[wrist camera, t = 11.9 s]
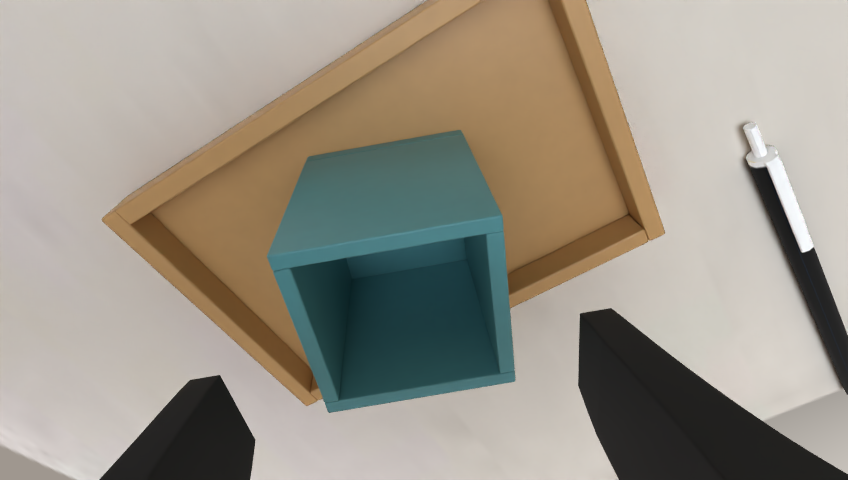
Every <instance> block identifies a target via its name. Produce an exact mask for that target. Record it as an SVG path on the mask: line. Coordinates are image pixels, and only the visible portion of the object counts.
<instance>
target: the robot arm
mask: <svg viewBox="0 0 848 480" xmlns="http://www.w3.org/2000/svg"><path fill="white" fill-rule="evenodd" d="M578 386H579V389H580V392H581V394H582V397H583V400H584V403H585V405H586V408H587V411H588V414H589V416H590V419H591V421H592V424H593V427H594V429H595V432H596V434H597V436H598V438H599V441H600V443H601V445H602V447H603V449H604V451H605V453H606V455H607V457H608V459H609V461H610V463H611V465H612V467H613V469H614V471H615V473H616V475H617V477H618V478H619V480H848V474H846V473H844V472H843V471H841V470H839V469H838V468H836V467H834V466H833V465H831V464H829V463H827V462H826V461H824V460H823V459H821V458H819V457H818V456H816V455H814V454H813V453H811V452H809V451H808V450H806V449H804V448H803V447H801V446H800V445H798V444H797V443H795V442H793V441H791V440H790V439H789V438H787V437H785V436H784V435H782V434H780V433H779V432H778V431H776V430H775V429H773V428H772V427H770V426H769V425H767V424H766V423H764V422H763V421H761V420H760V419H758V418H757V417H756V416H754V415H753V414H751V413H750V412H748V411H747V410H745V409H744V408H742V407H741V406H739V405H738V404H737V403H735V402H734V401H732V400H731V399H729V398H728V397H727V396H725V395H724V394H722V393H721V392H720V391H718V390H717V389H716V388H714V387H713V386H711V385H710V384H709V383H707V382H706V381H705V380H703V379H702V378H701V377H699V376H698V375H696V374H695V373H694V372H692V371H691V370H690V369H688V368H687V367H686V366H684V365H683V364H682V363H680V362H679V361H678V360H676V359H675V358H674V357H673V356H671V355H670V354H669V353H667V352H666V351H665V350H664V349H662V348H661V347H660V346H658V345H657V344H656V343H655V342H653V341H652V340H651V339H649V338H648V337H647V336H646V335H644V334H643V333H642V332H641V331H639V330H638V329H637V328H636V327H634V326H633V325H632V324H631V323H629V322H628V321H627V320H626V319H624V318H623V317H622V316H620V315H619V314H618V313H617V312H615V311H614V310H613V309H611V308H610V309H604V310H598V311H592V312H586V313H580V335H579V379H578ZM254 447H255V439H254V437H253V435H252V433H251V431H250V429H249V428H248V426H247V424H246V422H245V420H244V418H243V417H242V415H241V413H240V411H239V409H238V407H237V406H236V404H235V402H234V400H233V398H232V396H231V395H230V393H229V391H228V389H227V387H226V385H225V384H224V382H223V380H222V378H221V376H220V375H217V376H212V377H206V378H200V379H194V380H190V381H189V382H188V383H187V384H186V385H185V386H184V387H183V388H182V389H181V390H180V391H179V392H178V393H177V394H176V395H175V396H174V397H173V399H172V400H171V401H170V402H169V403H168V404H167V405H166V406H165V407H164V409H163V410H162V411H161V412H160V413H159V414H158V415H157V416H156V417H155V419H154V420H153V421H152V422H151V423H150V424H149V425H148V426H147V428H146V429H145V430H144V431H143V432H142V433H141V434H140V435H139V437H138V438H137V439H136V440H135V441H134V442H133V443H132V444H131V445H130V447H129V448H128V449H127V450H126V451H125V452H124V453H123V454H122V455H121V457H120V458H119V459H118V460H117V461H116V462H115V463H114V464H113V465H112V466H111V468H110V469H109V470H108V471H107V472H106V473H105V474H104V475H103V476H102V478H101V479H100V480H250V476H251V470H252V462H253V455H254Z"/></svg>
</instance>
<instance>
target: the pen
mask: <svg viewBox="0 0 848 480" xmlns="http://www.w3.org/2000/svg"><path fill="white" fill-rule="evenodd" d="M743 129H744V132H745V134H746V137H747V139H748V142H749V144H750V147H751V149H752V151H750V152H749V153H748V154H747V156H746V160H747V162H748V164H749V167H750V169H751V172H752V174H753V176H754V179H755V181H756V183H757V186H758V188H759V190H760V193H761V195H762V197H763V200H764V202H765V204H766V207H767V209H768V211H769V214H770V216H771V218H772V221H773V223H774V226H775V228H776V230H777V233H778V235H779V237H780V240H781V242H782V244H783V247H784V249H785V251H786V254H787V256H788V258H789V261H790V263H791V265H792V268H793V270H794V272H795V275H796V277H797V280H798V282H799V284H800V287H801V289H802V291H803V294H804V296H805V298H806V301H807V303H808V305H809V308H810V310H811V312H812V315H813V317H814V319H815V322H816V324H817V326H818V329H819V331H820V334H821V336H822V338H823V341H824V343H825V345H826V348H827V350H828V352H829V355H830V357H831V359H832V362H833V364H834V366H835V369H836V371H837V373H838V376H839V378H840V380H841V383H842V385H843V388H844V390H845V392H846V393H847V394H848V335H847V333H846V330H845V327H844V325H843V322H842V319H841V317H840V314H839V312H838V309H837V306H836V304H835V301H834V299H833V296H832V293H831V291H830V288H829V285H828V283H827V280H826V278H825V275H824V272H823V270H822V267H821V264H820V262H819V259H818V257H817V254H816V251H815V249H814V244H813V241H812V238H811V236H810V233H809V231H808V228H807V225H806V223H805V220H804V218H803V215H802V212H801V210H800V207H799V205H798V202H797V199H796V197H795V194H794V192H793V189H792V186H791V184H790V181H789V179H788V176H787V173H786V171H785V168H784V165H783V163H782V160H781V159H780V157H779V154H778V152H777V149H776V148H775V147H774V146H770V145H765V144H764V141H763V139H762V136H761V134H760V131H759V129H758V127H757V124H756V123H755V122H750V123H748V124H746V125H745V126H744V127H743Z"/></svg>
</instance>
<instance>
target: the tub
mask: <svg viewBox="0 0 848 480" xmlns="http://www.w3.org/2000/svg"><path fill="white" fill-rule="evenodd" d="M503 229H504V225H503V216H502V213H501V211H500V209H499V207H498V205H497V203H496V201H495V199H494V197H493V195H492V193H491V191H490V189H489V186H488V184H487V182H486V180H485V178H484V176H483V174H482V172H481V170H480V168H479V166H478V164H477V162H476V159H475V157H474V155H473V153H472V151H471V149H470V147H469V145H468V143H467V141H466V139H465V137H464V135H463V133H462V131H461V130H455V131H450V132H444V133H438V134H433V135H427V136H421V137H416V138H410V139H404V140H399V141H393V142H387V143H382V144H376V145H370V146H365V147H359V148H353V149H348V150H342V151H336V152H331V153H325V154H319V155H314V156H309V157H307V160H306V162H305V164H304V167H303V169H302V171H301V174H300V176H299V179H298V181H297V184H296V186H295V188H294V191H293V193H292V196H291V198H290V201H289V203H288V206H287V208H286V210H285V213H284V215H283V218H282V220H281V223H280V225H279V227H278V230H277V232H276V235H275V237H274V240H273V242H272V244H271V247H270V249H269V252H268V254H267V259H268V261H269V264H270V266H271V269H272V270H273V274H274V276H275V279H276V282H277V284H278V287H279V289H280V292H281V294H282V297H283V299H284V302H285V304H286V307H287V309H288V312H289V314H290V317H291V319H292V322H293V324H294V327H295V329H296V332H297V334H298V337H299V339H300V342H301V345H302V347H303V350H304V352H305V355H306V357H307V360H308V362H309V365H310V367H311V370H312V372H313V375H314V377H315V380H316V382H317V385H318V387H319V390H320V392H321V395H322V397H323V400H324V402H325V405H326V408H327V410H328V412H329V413H331V412H337V411H343V410H349V409H355V408H361V407H367V406H373V405H379V404H385V403H391V402H396V401H402V400H408V399H414V398H420V397H426V396H432V395H438V394H444V393H450V392H456V391H462V390H468V389H474V388H480V387H486V386H492V385H498V384H504V383H509V382H514V381H515V371H514V369H515V368H514V355H513V342H512V329H511V316H510V303H509V290H508V277H507V264H506V251H505V238H504V231H503Z"/></svg>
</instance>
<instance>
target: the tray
mask: <svg viewBox="0 0 848 480" xmlns="http://www.w3.org/2000/svg"><path fill="white" fill-rule="evenodd" d="M455 130H461V131H462V133H463V135H464V137H465V139H466V141H467V143H468V145H469V147H470V149H471V151H472V153H473V155H474V157H475V159H476V162H477V164H478V166H479V168H480V170H481V172H482V174H483V176H484V178H485V180H486V182H487V184H488V186H489V189H490V191H491V193H492V195H493V197H494V199H495V201H496V203H497V205H498V207H499V209H500V211H501V213H502V216H503V225H504V229H503V231H504V238H505V251H506V264H507V277H508V290H509V303H510V308H512V307H514V306H516V305H518V304H520V303H522V302H524V301H526V300H528V299H530V298H533V297H535V296H537V295H539V294H541V293H543V292H545V291H547V290H549V289H551V288H553V287H555V286H557V285H560V284H562V283H564V282H566V281H568V280H570V279H572V278H574V277H576V276H578V275H580V274H582V273H584V272H587V271H589V270H591V269H593V268H595V267H597V266H599V265H601V264H603V263H605V262H607V261H609V260H611V259H614V258H616V257H618V256H620V255H622V254H624V253H626V252H628V251H630V250H632V249H634V248H636V247H638V246H641V245H643V244H645V243H647V242H648V240H653V239H655V238H657V237H659V236H661V235H663V234H665V231H664V228H663V225H662V222H661V219H660V216H659V213H658V210H657V207H656V204H655V201H654V198H653V196H652V193H651V190H650V187H649V184H648V181H647V178H646V175H645V172H644V169H643V166H642V163H641V160H640V157H639V155H638V152H637V149H636V146H635V143H634V140H633V137H632V134H631V131H630V128H629V125H628V122H627V119H626V116H625V114H624V111H623V108H622V105H621V102H620V99H619V96H618V93H617V90H616V87H615V84H614V81H613V78H612V75H611V72H610V70H609V67H608V64H607V61H606V58H605V55H604V52H603V49H602V46H601V43H600V40H599V37H598V34H597V31H596V29H595V26H594V23H593V20H592V17H591V14H590V11H589V8H588V5H587V2H586V0H427V1H426V2H424V3H423V4H421V5H419V6H418V7H416V8H415V9H413V10H412V11H410V12H409V13H407V14H406V15H404V16H403V17H401V18H400V19H398V20H396V21H395V22H393V23H392V24H390V25H389V26H387V27H386V28H384V29H383V30H381V31H380V32H378V33H377V34H375V35H373V36H372V37H370V38H369V39H367V40H366V41H364V42H363V43H361V44H360V45H358V46H357V47H355V48H354V49H352V50H351V51H349V52H347V53H346V54H344V55H343V56H341V57H340V58H338V59H337V60H335V61H334V62H332V63H331V64H329V65H328V66H326V67H324V68H323V69H321V70H320V71H318V72H317V73H315V74H314V75H312V76H311V77H309V78H308V79H306V80H305V81H303V82H301V83H300V84H298V85H297V86H295V87H294V88H292V89H291V90H289V91H288V92H286V93H285V94H283V95H282V96H280V97H279V98H277V99H275V100H274V101H272V102H271V103H269V104H268V105H266V106H265V107H263V108H262V109H260V110H259V111H257V112H256V113H254V114H252V115H251V116H249V117H248V118H246V119H245V120H243V121H242V122H240V123H239V124H237V125H236V126H234V127H233V128H231V129H229V130H228V131H226V132H225V133H223V134H222V135H220V136H219V137H217V138H216V139H214V140H213V141H211V142H210V143H208V144H207V145H205V146H203V147H202V148H200V149H199V150H197V151H196V152H194V153H193V154H191V155H190V156H188V157H187V158H185V159H184V160H182V161H180V162H179V163H177V164H176V165H174V166H173V167H171V168H170V169H168V170H167V171H165V172H164V173H162V174H161V175H159V176H158V177H156V178H154V179H153V180H151V181H150V182H148V183H147V184H145V185H144V186H142V187H141V188H139V189H138V190H136V191H135V192H133V193H131V194H130V195H128V196H127V197H126V198H125V199H123V200H122V201H121V202H120V203H119V204H118V205H117V206H116V207H114V208H113V209H112V210H111V211H110V212H109V213H108V214H106V215H105V216H104V217H103V218H102V221H103V222H104V223H105V224H106V225H107V226H108V227H109V228H110V229H111V230H113V231H114V232H115V233H116V234H117V235H118V236H119V237H120V238H121V239H122V240H124V241H125V242H126V243H127V244H128V245H129V246H130V247H131V248H132V249H133V250H135V251H136V252H137V253H138V254H139V255H140V256H141V257H142V258H143V259H145V260H146V261H147V262H148V263H149V264H150V265H151V266H152V267H153V268H154V269H156V270H157V271H158V272H159V273H160V274H161V275H162V276H163V277H164V278H165V279H167V280H168V281H169V282H170V283H171V284H172V285H173V286H174V287H175V288H177V289H178V290H179V291H180V292H181V293H182V294H183V295H184V296H185V297H186V298H188V299H189V300H190V301H191V302H192V303H193V304H194V305H195V306H196V307H198V308H199V309H200V310H201V311H202V312H203V313H204V314H205V315H206V316H207V317H209V318H210V319H211V320H212V321H213V322H214V323H215V324H216V325H217V326H218V327H220V328H221V329H222V330H223V331H224V332H225V333H226V334H227V335H228V336H230V337H231V338H232V339H233V340H234V341H235V342H236V343H237V344H238V345H239V346H241V347H242V348H243V349H244V350H245V351H246V352H247V353H248V354H249V355H250V356H252V357H253V358H254V359H255V360H256V361H257V362H258V363H259V364H260V365H262V366H263V367H264V368H265V369H266V370H267V371H268V372H269V373H270V374H271V375H273V376H274V377H275V378H276V379H277V380H278V381H279V382H280V383H281V384H282V385H284V386H285V387H286V388H287V389H288V390H289V391H290V392H291V393H292V394H294V395H295V396H296V397H297V398H298V399H299V400H300V401H301V402H302V403H303V404H305V405H306V406H308V405H310V404H312V403H315V402H317V401H318V400H321V399H323V397H322V395H321V392H320V390H319V387H318V385H317V382H316V380H315V377H314V375H313V372H312V370H311V367H310V365H309V362H308V360H307V357H306V355H305V352H304V350H303V347H302V345H301V342H300V339H299V337H298V334H297V332H296V329H295V327H294V324H293V322H292V319H291V317H290V314H289V312H288V309H287V307H286V304H285V302H284V299H283V297H282V294H281V292H280V289H279V287H278V284H277V282H276V279H275V276H274V274H273V270H272V269H271V266H270V264H269V261H268V259H267V254H268V252H269V249H270V247H271V244H272V242H273V240H274V237H275V235H276V232H277V230H278V227H279V225H280V223H281V220H282V218H283V215H284V213H285V210H286V208H287V206H288V203H289V201H290V198H291V196H292V193H293V191H294V188H295V186H296V184H297V181H298V179H299V176H300V174H301V171H302V169H303V167H304V164H305V162H306V160H307V157H309V156H314V155H319V154H325V153H331V152H336V151H342V150H348V149H353V148H359V147H365V146H370V145H376V144H382V143H387V142H393V141H399V140H404V139H410V138H416V137H421V136H427V135H433V134H438V133H444V132H450V131H455Z"/></svg>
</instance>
